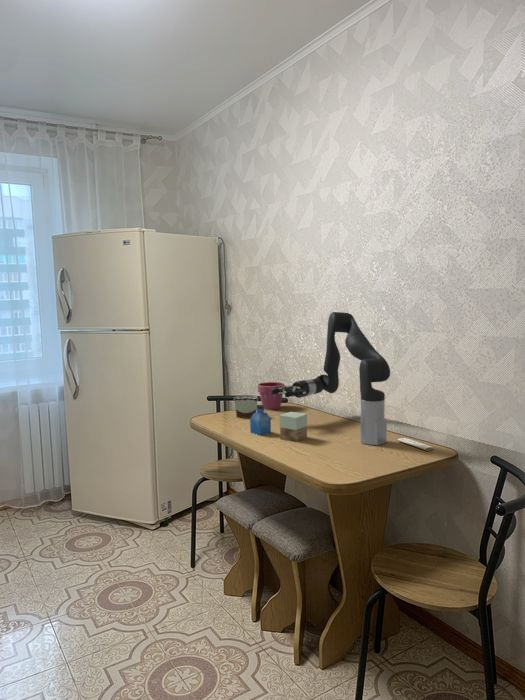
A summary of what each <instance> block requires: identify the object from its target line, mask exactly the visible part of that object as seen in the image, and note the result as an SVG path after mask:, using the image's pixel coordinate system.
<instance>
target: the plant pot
mask: <svg viewBox="0 0 525 700" xmlns="http://www.w3.org/2000/svg"><path fill="white" fill-rule="evenodd" d="M279 386H285V383H283V382H279V381H277V382H276V381H267V382H260V383H258V384H257V392H258V393H259V397H260V402H261V405H264V407H263V408H264V410H269V411H270V410H272V411H273V410H278V409H281V405H282V400H283V395H284V394H283V393H279V394H272V389H276V387H279Z"/></svg>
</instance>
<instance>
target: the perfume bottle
mask: <svg viewBox="0 0 525 700" xmlns="http://www.w3.org/2000/svg"><path fill="white" fill-rule="evenodd" d="M256 406H257V408H256V413H253V415H252V417H251V418H249V419H250V420H249V422H250V424H249V425H250V426H249V427H250V429H249V430H250V431H249V432H251V433H250V434H253V433H254V434H253V435H256V434H257V435H256V436H259V435H260V436H264V435H268V433H269V434H271V432H272V430H271V429H272V424H271V423H272V422H271V417H270V416H269V414H268V413H267V412H265V409H264V408H263V407H264V405H262V404H257V405H256ZM263 434H264V435H263Z"/></svg>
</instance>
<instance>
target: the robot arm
mask: <svg viewBox="0 0 525 700" xmlns="http://www.w3.org/2000/svg"><path fill="white" fill-rule="evenodd" d="M349 313H350V312H343V311H340V312H339V311H332V312H331V313H330V315H329V317H328V322H327V333H326V352H325V356H324V357H325V358H324V364H323V368H322V369H323V372H324V373H326V374H319V375H318V376H316V377H315V378H311V379H303V380H297V381H295V382H293V384H292V385H288V386H287V385H284V386H279V387H276V389H272V394H279V393H283V395H284V397H285V398H289V397H295V398H298V399H299V398H301V399H302V398H306V397H308V396H312V395H315V394H320V393H322V392H323V390H324V391H325V392H326V393H329V394H334V393H336V392H337V391H338V388H339V387H340V378H339V367H340V362H341V354H340V350H339V347H338V345H337V342H336V339H335V338H336V336H335V335H336V333H343V334H344V333H346V334H347V335H346V337H345V339H344V341H345V342H344V343H345V346H346V349H347V350H348V352H349V353H350V354H351V356H352V357H354V358H356V359H357V360H359V361H360V363H359V369H358V371H359V372H358V373H359V390H360V391H359V393H360V443H362V444H364V445H370V446H380V445H383V444H387V437H388V436H387V431H388V430H387V427H388V426H387V425H388V424H387V422H388V420H387V419H386V418H385V413H386V412H385V410H386V408H385V405H386V404H385V403H386V402H385V400H386V399H385V398H386V394H385V392H384V391H382V390H380V389H377V388H374V387H373V385H372V383H383V382H386V381H387V380H388V379H390V375H391V368H390V366H389V363H388V362H387V360H386V359H385V358H384V357H383V356H382V354H380V352H378V351H377V350H376V349H375V348H374V346H373V345H372V343H371V342H370V340H368V339H369V338H367V337H366V335H365V333H363V331H362V330H361V329H360V327H359V325H358V324H357V321H356V319H355V317H354V315H352V314H351V313H350V314H349Z"/></svg>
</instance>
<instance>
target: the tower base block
mask: <svg viewBox="0 0 525 700" xmlns="http://www.w3.org/2000/svg"><path fill="white" fill-rule="evenodd" d="M307 426H308V425H307ZM307 426H306V427H303V428H300V429H298V430H293V429H287V428H281V427H280V426H279V428H280V431H279V435H280V440H282V439H283V440H282V441H288V440H290V441H289V442H295V443H299V442H300V441H302V440H304V439H307V437H308V427H307Z"/></svg>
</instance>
